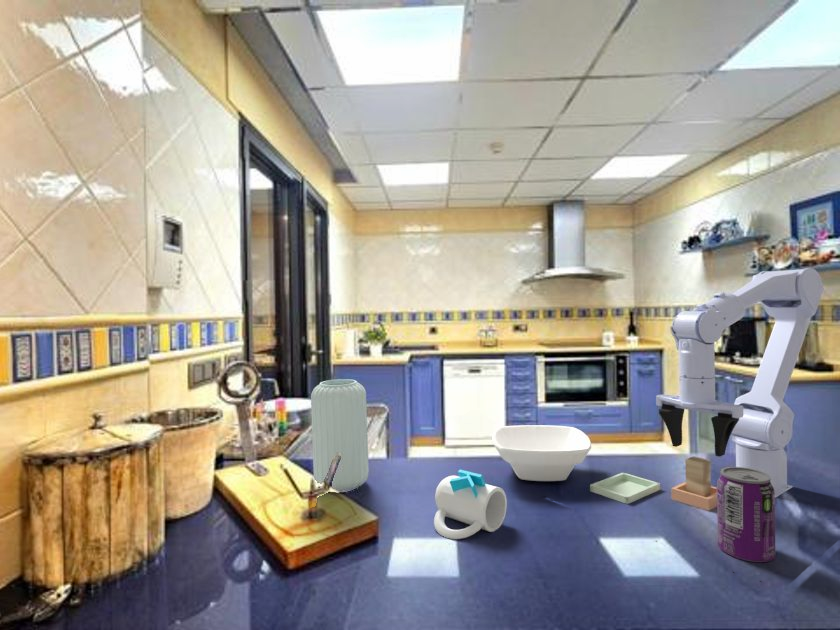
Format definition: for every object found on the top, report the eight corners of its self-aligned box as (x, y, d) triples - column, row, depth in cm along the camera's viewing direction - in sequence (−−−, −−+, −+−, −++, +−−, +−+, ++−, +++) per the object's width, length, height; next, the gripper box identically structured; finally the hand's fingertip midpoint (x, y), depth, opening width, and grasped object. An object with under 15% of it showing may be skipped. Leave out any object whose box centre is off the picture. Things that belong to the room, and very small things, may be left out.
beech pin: (694, 495, 93) (693, 456, 93) (711, 500, 90) (710, 460, 90) (686, 499, 91) (685, 459, 91) (703, 504, 89) (702, 463, 88)
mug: (443, 455, 91) (497, 469, 83) (456, 494, 94) (510, 510, 86) (403, 499, 83) (459, 518, 75) (419, 539, 86) (475, 562, 78)
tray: (623, 480, 103) (622, 472, 103) (660, 492, 96) (660, 483, 96) (590, 493, 96) (589, 484, 96) (627, 507, 90) (627, 497, 90)
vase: (315, 500, 98) (310, 388, 97) (313, 480, 109) (309, 379, 108) (372, 493, 100) (369, 384, 100) (365, 474, 111) (362, 376, 111)
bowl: (492, 459, 119) (491, 424, 119) (580, 461, 116) (580, 425, 116) (493, 492, 99) (492, 450, 98) (600, 495, 96) (599, 451, 96)
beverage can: (785, 569, 68) (784, 483, 68) (729, 565, 70) (728, 481, 70) (761, 544, 75) (760, 466, 75) (710, 541, 77) (709, 464, 76)
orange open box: (689, 493, 95) (689, 480, 95) (726, 504, 90) (726, 490, 90) (671, 502, 92) (671, 488, 91) (708, 514, 86) (708, 499, 86)
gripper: (646, 374, 94) (648, 445, 94) (729, 383, 82) (730, 464, 82) (666, 370, 98) (667, 438, 98) (748, 378, 86) (749, 456, 86)
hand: (697, 450), depth 90 cm, fingers open, 7 cm apart
